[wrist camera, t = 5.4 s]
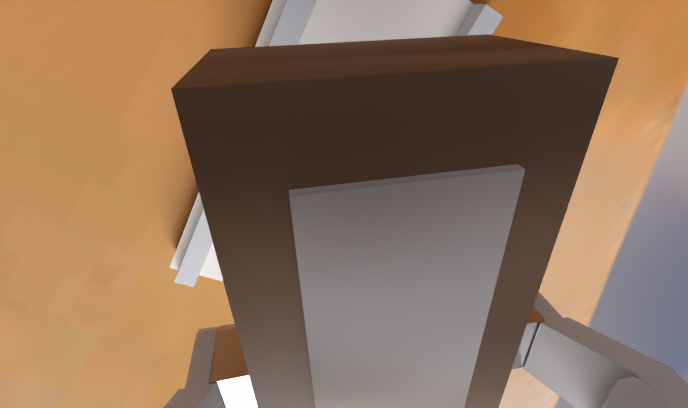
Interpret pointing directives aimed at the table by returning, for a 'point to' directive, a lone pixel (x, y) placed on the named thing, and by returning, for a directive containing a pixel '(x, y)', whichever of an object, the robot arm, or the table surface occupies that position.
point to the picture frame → (387, 207)
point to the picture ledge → (331, 27)
